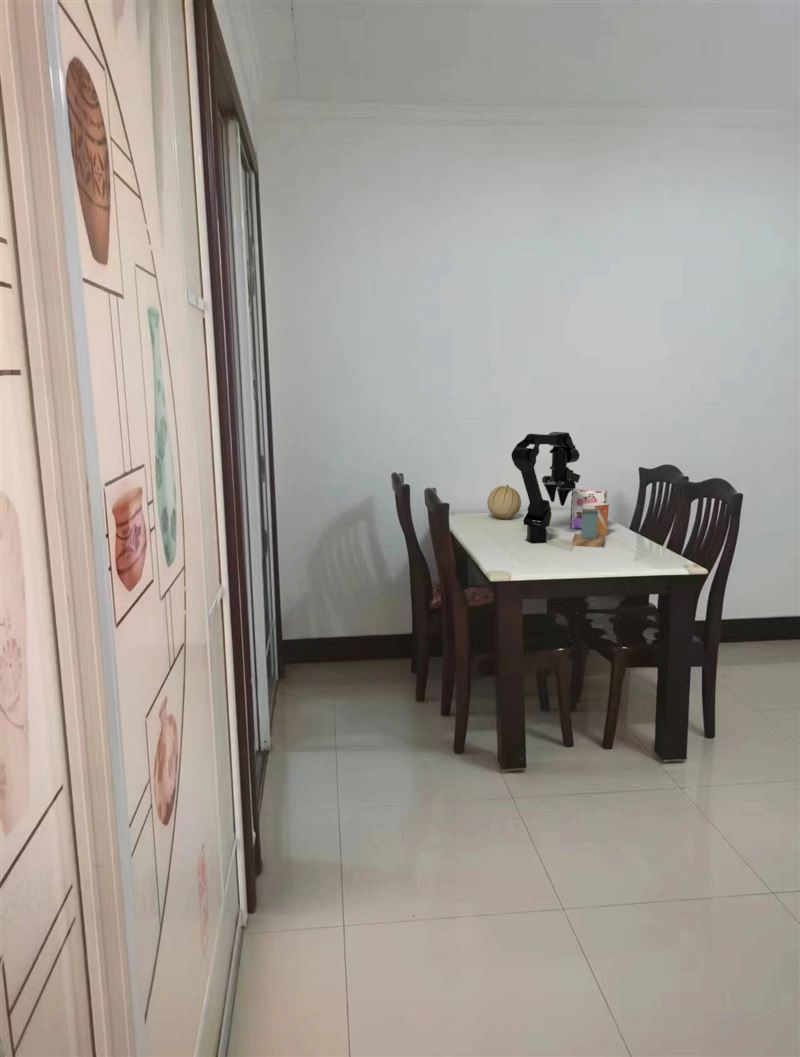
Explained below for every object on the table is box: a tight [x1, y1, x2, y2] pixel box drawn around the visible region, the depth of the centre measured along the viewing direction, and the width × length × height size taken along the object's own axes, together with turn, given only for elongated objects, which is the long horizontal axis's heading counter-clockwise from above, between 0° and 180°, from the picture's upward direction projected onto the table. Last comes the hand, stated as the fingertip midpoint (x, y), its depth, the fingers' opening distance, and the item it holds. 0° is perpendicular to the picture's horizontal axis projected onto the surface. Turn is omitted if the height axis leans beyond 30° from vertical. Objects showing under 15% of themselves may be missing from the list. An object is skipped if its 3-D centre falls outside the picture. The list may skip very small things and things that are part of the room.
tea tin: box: [580, 509, 598, 539], centre depth 300 cm, size 6×6×10 cm
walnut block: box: [572, 533, 605, 548], centre depth 302 cm, size 11×11×3 cm
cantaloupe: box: [487, 484, 522, 520], centre depth 351 cm, size 15×15×15 cm
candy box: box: [569, 487, 608, 530], centre depth 329 cm, size 14×6×16 cm, turn 68°
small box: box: [583, 502, 609, 537], centre depth 315 cm, size 8×6×13 cm
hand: (557, 503), depth 313 cm, fingers open, 9 cm apart
